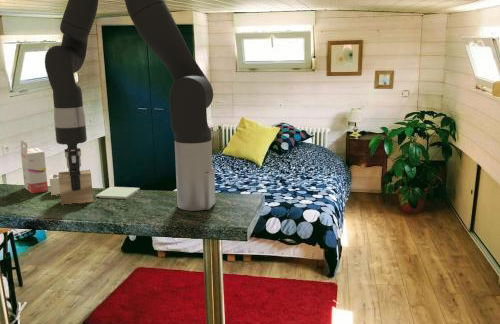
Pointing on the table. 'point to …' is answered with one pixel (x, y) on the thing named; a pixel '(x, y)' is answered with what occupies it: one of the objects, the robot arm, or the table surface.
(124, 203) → the table surface
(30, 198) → the table surface
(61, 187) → the birch block
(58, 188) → the marked cube
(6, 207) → the table surface
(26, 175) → the ink cartridge box
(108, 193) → the sage mat
